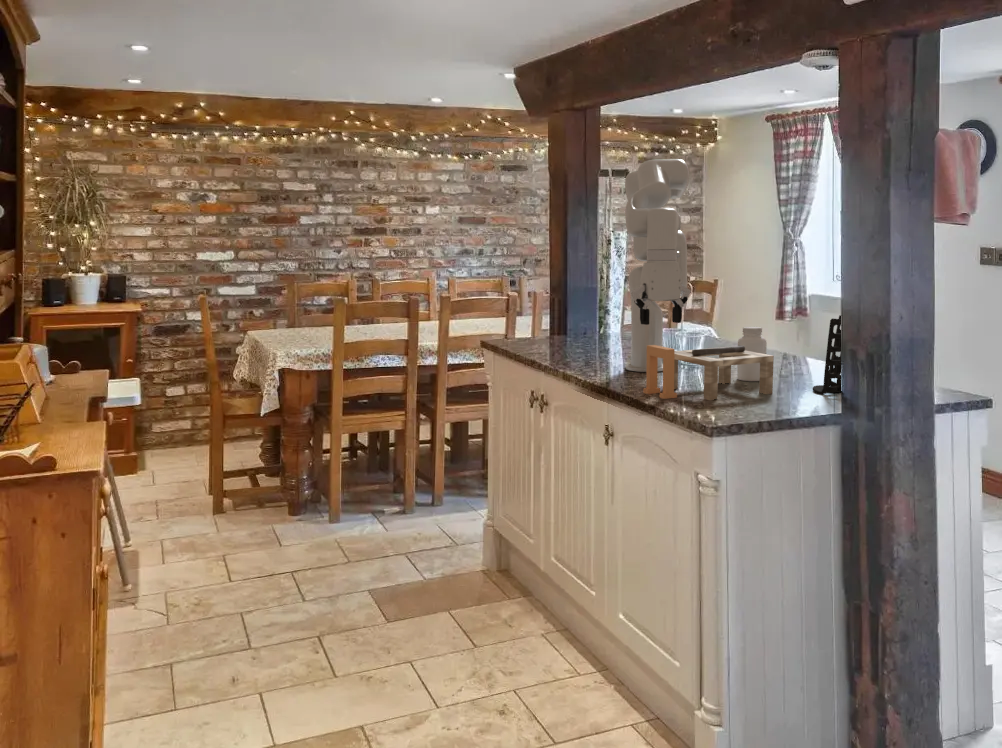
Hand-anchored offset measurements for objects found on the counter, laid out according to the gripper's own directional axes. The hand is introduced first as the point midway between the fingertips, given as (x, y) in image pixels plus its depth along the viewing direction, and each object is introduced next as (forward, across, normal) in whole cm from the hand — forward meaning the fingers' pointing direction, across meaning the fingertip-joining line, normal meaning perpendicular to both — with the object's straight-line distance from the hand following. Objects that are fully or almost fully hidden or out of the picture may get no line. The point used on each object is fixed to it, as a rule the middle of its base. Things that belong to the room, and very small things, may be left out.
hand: (660, 323), depth 241 cm
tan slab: (+19, 0, -1) cm, 19 cm away
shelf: (+19, -17, +1) cm, 26 cm away
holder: (+19, -42, +16) cm, 49 cm away
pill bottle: (+19, -36, -9) cm, 42 cm away
